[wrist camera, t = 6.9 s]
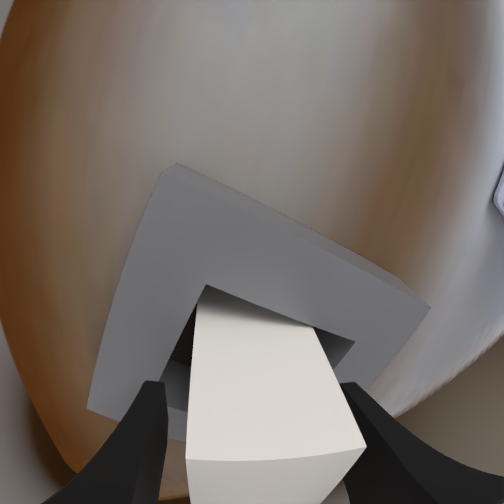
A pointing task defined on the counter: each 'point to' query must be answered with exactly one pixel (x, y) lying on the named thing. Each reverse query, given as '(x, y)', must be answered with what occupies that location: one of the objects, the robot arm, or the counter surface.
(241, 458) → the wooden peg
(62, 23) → the counter surface
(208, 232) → the socket block
